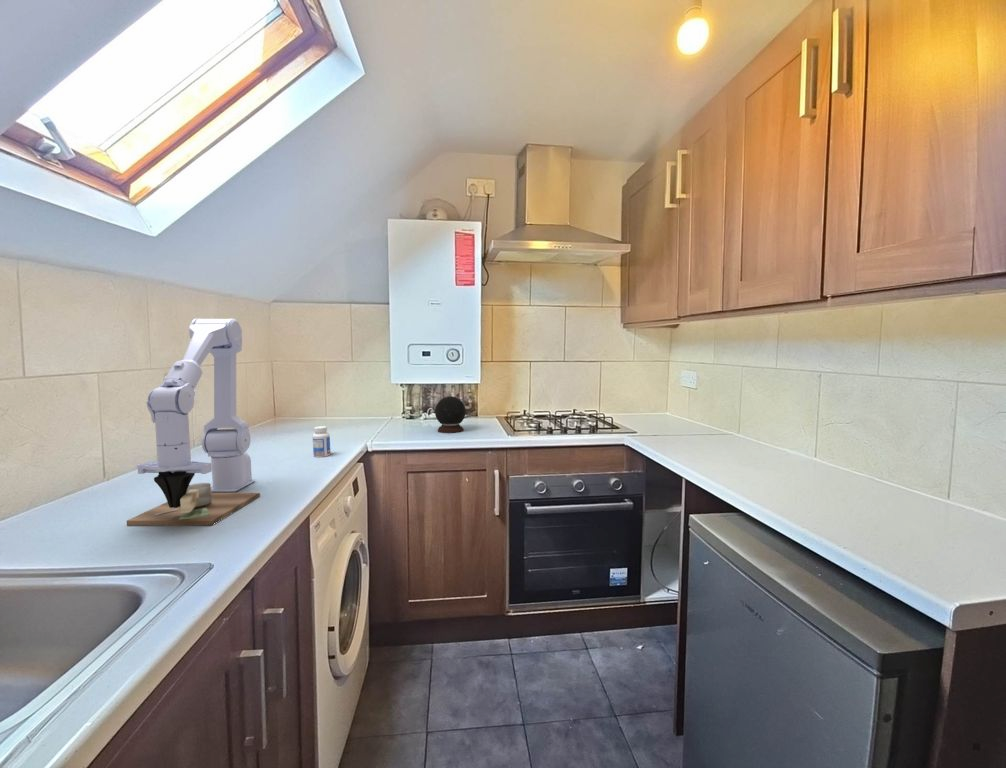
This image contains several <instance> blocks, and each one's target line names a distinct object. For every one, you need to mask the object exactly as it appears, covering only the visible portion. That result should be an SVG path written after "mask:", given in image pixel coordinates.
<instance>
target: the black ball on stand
mask: <svg viewBox="0 0 1006 768" xmlns="http://www.w3.org/2000/svg"><path fill="white" fill-rule="evenodd" d="M466 410H467V409H466V407H465V404H464V402H463V401H462V400H461V399H460V398H457V396H456V397H455V396H445V397H443V398H441V399H440V400H439V401H438V402H437V404H436V405H435V410H434V415H435V418H436V420H437V421H438V423H439V424H441V425H440V426H438V428H437V433H441V434H457V433H458V434H459V433H462V432H464V430H465V429H464V428H463V426H462V425H460V424H461V423H462V422H463V421H464V419H465V417H466Z"/></svg>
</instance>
